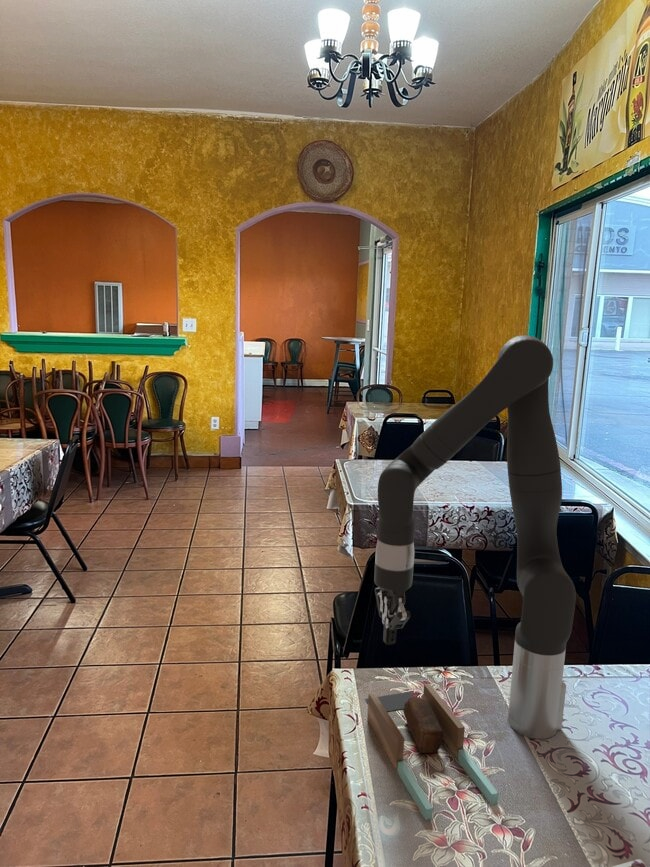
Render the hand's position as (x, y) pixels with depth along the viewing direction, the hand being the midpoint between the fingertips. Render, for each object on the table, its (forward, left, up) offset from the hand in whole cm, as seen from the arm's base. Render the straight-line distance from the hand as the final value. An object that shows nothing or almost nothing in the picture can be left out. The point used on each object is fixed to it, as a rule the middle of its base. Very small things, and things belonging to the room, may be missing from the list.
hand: (389, 642), depth 129 cm
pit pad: (-1, +2, -13) cm, 13 cm away
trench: (0, +13, -13) cm, 18 cm away
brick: (0, +10, -13) cm, 17 cm away
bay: (0, +26, -13) cm, 28 cm away
